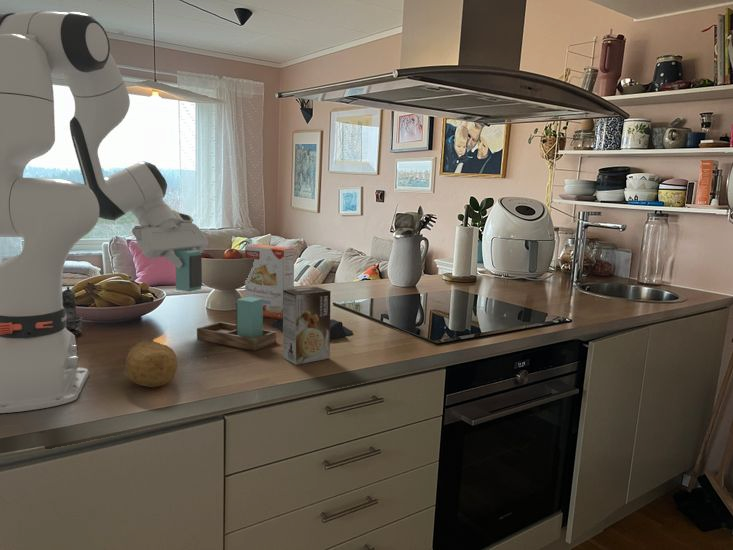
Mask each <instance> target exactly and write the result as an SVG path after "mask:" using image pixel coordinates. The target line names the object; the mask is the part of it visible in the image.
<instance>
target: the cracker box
mask: <svg viewBox="0 0 733 550" xmlns="http://www.w3.org/2000/svg"><path fill="white" fill-rule="evenodd" d="M244 250H245V251H244V259H245V258H253V259H254V262H253V267H252V268H251V271H250V273H249V275H248V278H246V279H247V280H245V279H244V298H245V297H248V296H249V297H255V298H262V299H263V317H266V318H271V319H277V320H279V319H281V318H283V290H289V289H295V287H294V286H295V285H294V283H295V281H294V280H295V248H293V247H286V246H277V245H266V244H259V243H255V244H247V245H245V246H244ZM260 264H261V266H260ZM258 270H259V271H258ZM250 280H251V281H250ZM248 282H249V283H248ZM245 284H246V285H245Z"/></svg>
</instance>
